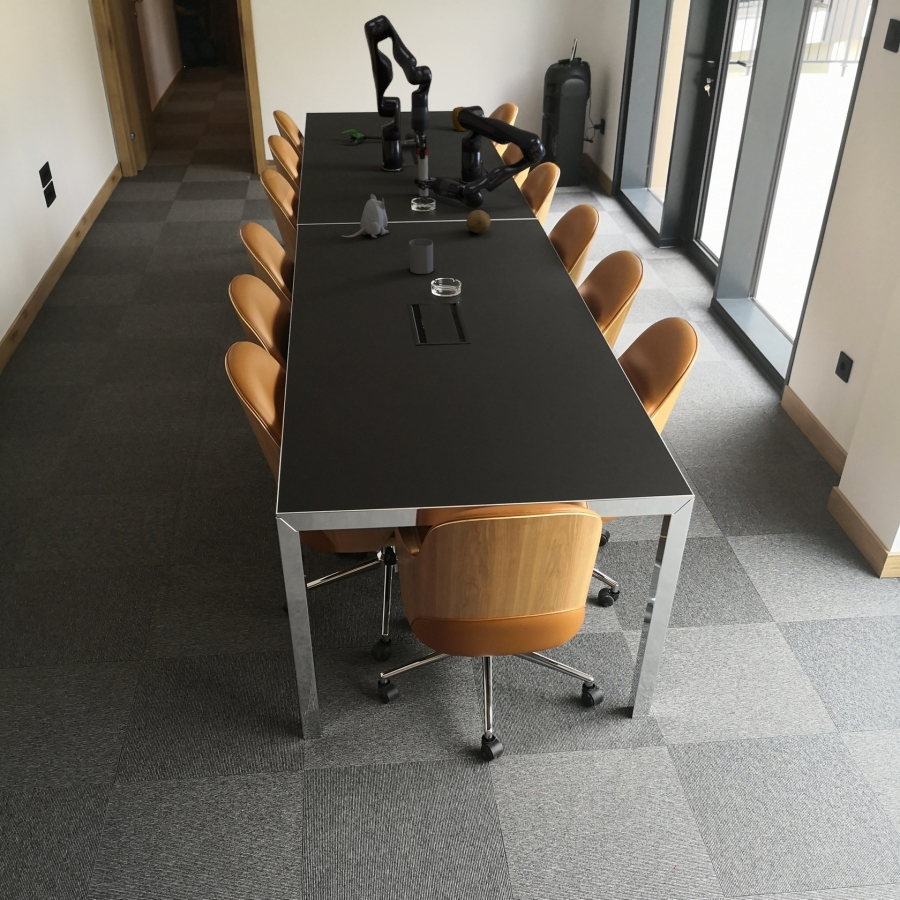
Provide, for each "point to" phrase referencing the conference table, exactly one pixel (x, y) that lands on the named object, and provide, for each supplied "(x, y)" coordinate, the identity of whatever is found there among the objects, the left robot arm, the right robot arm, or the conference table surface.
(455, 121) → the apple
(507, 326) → the conference table surface
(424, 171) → the white tall cylinder
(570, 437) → the conference table surface
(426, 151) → the lid
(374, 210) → the toy
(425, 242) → the cup
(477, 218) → the potato
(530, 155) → the right robot arm
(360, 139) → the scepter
